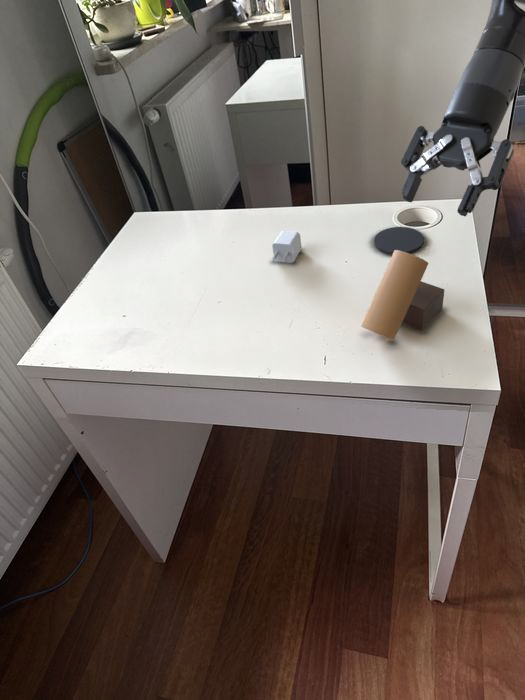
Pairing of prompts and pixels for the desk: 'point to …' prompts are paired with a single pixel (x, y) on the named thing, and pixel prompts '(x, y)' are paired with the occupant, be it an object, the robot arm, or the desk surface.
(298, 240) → the usb wall charger
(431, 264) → the desk surface
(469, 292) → the desk surface
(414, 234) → the coaster
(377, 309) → the tan cylinder
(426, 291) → the walnut block
